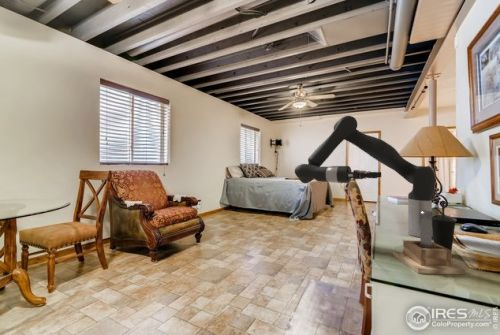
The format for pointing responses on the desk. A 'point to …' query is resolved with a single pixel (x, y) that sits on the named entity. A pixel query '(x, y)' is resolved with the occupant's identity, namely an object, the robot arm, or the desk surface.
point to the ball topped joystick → (426, 229)
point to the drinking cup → (443, 229)
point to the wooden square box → (427, 259)
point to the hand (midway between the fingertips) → (379, 175)
